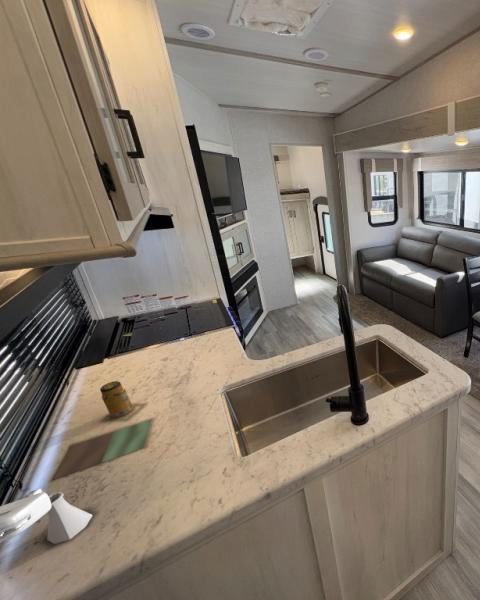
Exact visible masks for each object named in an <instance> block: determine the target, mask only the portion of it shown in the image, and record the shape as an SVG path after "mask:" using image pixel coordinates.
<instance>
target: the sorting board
mask: <svg viewBox="0 0 480 600" xmlns="http://www.w3.org/2000/svg"><path fill="white" fill-rule="evenodd" d="M151 423H152V419H148V420H146V421H142V422H138V423H136V424H132V425H130V426H127V427H124V428H120V429H118V430H114V431H111V432H109V433H105V434H103V435H99V436H96V437H93V438H90V439H87V440H83V441H80V442H77V443H74V444H71V446H70V448H69V450H68V452H67V454H66V455H65V458H64V459H63V461H62V462H61V464H60V466H59V468H58V470H57V472H56V474H55V475H54V478H53V481H55V480H57V479H60V478H62V477H63V478H64V477H66V476H68V475H69V476H70V475H72V474H74V473H77V472H80V471H83V470H86V469H88V468H89V469H90V468H92V467H94V466H97V465H100V464H102V463H106V462H108V461H111V460H113V459H117V458H119V457H122V456H125V455H128V454H131V453H133V452H136V451H139V450H142V449H144V448H145V447H146V444H147V440H148V435H149V431H150V428H151Z"/></svg>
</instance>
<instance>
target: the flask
mask: <svg viewBox="0 0 480 600" xmlns="http://www.w3.org/2000/svg"><path fill="white" fill-rule="evenodd" d="M48 496H49V498H50V501H51V505H52V507H51V509H50V510H49V511H48V512H47V515H48V527H47V537H46V538H47V539H46V540H47V541H48V542H50V543H52V544H53V545H55V544H60V543H63V542H67V541H70V540H71V539H73V538H74V537H75V536H76V535H77V534H79V533H80V532H82V531H83V529H85V528H86V527H87V525H88V524H89V522H90V520H91V519H92V517H93V514H91V513H89V512H87V511H85V510H83V509H81V508H78V507H76V506H74V505H72V504H70V503H69V502H67V500H65V498H64V493H63V492H61V491H57V492H53V493H51V494H50V495H48Z"/></svg>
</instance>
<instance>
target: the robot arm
mask: <svg viewBox="0 0 480 600" xmlns="http://www.w3.org/2000/svg"><path fill="white" fill-rule="evenodd" d="M49 496H50V495H48V493H46V492H45V491H43V490H42V489H41V488H38V489H34V490H32V491H29V493H27V494H25V495H24V496H23V498H20V499H17V500H14V501H12V502H9V503H6V504H3V505H1V506H0V543H3V542H5V541H8V540H10V539H12V538H14V537H16V536H18V535H20V534H22V532H24V531H25V530H27V529H29V527H31V526H32V525H34V524H35V523H36V522H37V521H39V520H40V519H41V518H42V517H43V516H45V515H46V514H48V511H49V510H50V509H51V507H52V505H51V501H50V498H49Z"/></svg>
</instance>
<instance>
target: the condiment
mask: <svg viewBox="0 0 480 600" xmlns="http://www.w3.org/2000/svg"><path fill="white" fill-rule="evenodd" d="M99 391H100V393H101V399H102V401H103V403H104V405H105V407H106V409H107V412H108V413H109V415H110V417H111V418H112V419H119V418H122V417H125V416H127V415H129V414H130V413H132V411H133V410H134V405H133V404H132V402H131V400H130V397H129V395H128V392H127V391H126V388H125V387H123V385H122V383H121V382H120V381H118V380H114V381H110V382H107V383H105V384H104V385H102V386H101V387H100V389H99Z"/></svg>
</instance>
